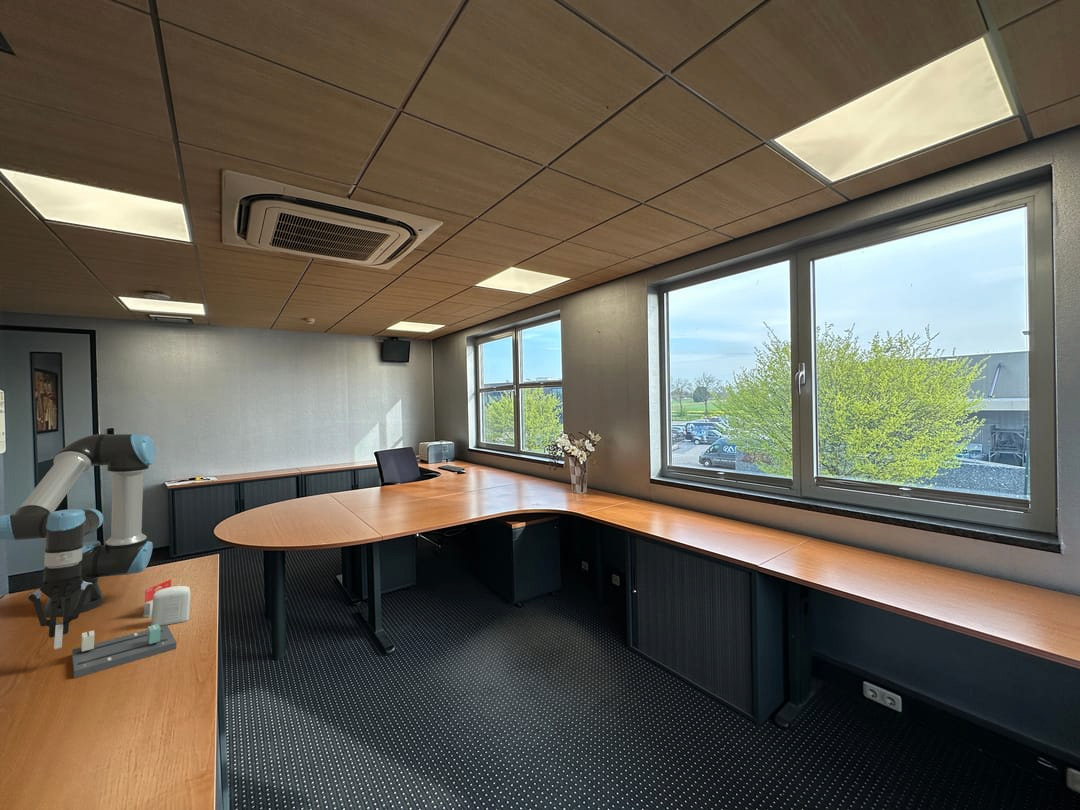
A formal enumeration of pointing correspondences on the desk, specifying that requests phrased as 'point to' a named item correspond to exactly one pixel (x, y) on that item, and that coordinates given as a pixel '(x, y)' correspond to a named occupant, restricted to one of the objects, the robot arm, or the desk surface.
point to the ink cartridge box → (149, 597)
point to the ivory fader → (87, 640)
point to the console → (120, 651)
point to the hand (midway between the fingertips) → (57, 646)
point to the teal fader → (153, 633)
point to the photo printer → (171, 605)
